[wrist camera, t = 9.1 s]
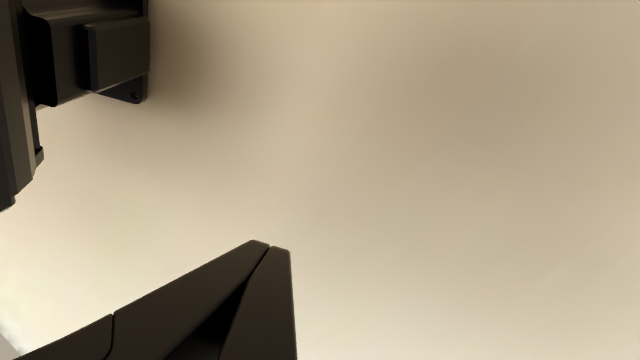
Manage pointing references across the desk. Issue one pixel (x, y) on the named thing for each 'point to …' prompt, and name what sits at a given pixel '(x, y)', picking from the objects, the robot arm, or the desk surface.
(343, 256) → the desk surface
